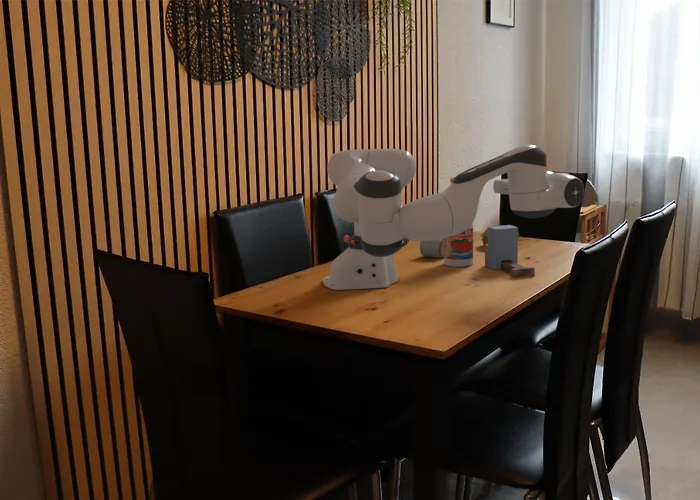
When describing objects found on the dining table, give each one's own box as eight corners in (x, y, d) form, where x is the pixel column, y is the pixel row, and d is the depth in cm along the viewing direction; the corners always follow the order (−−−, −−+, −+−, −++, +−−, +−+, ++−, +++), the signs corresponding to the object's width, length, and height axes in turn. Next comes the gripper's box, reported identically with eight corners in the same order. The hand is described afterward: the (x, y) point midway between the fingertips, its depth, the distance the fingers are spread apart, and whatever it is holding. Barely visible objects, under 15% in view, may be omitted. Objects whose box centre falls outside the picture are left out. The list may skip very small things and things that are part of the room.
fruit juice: (461, 259, 234) (461, 175, 229) (479, 264, 226) (479, 177, 220) (438, 263, 230) (437, 178, 224) (455, 268, 222) (454, 180, 216)
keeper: (495, 270, 217) (495, 229, 214) (487, 266, 222) (488, 226, 219) (517, 267, 219) (517, 227, 216) (509, 264, 224) (509, 225, 221)
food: (478, 251, 248) (478, 228, 246) (482, 243, 261) (482, 222, 260) (518, 252, 244) (518, 229, 242) (520, 244, 257) (520, 222, 256)
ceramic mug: (440, 260, 235) (440, 237, 233) (419, 258, 239) (419, 235, 238) (454, 255, 243) (455, 233, 242) (433, 252, 248) (433, 231, 246)
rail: (513, 278, 207) (513, 254, 206) (484, 265, 224) (485, 244, 223) (534, 275, 209) (534, 252, 207) (504, 263, 226) (504, 242, 225)
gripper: (507, 201, 188) (483, 195, 201) (573, 196, 194) (546, 191, 207) (507, 177, 187) (483, 173, 200) (574, 173, 193) (546, 169, 206)
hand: (515, 182), depth 204 cm, fingers closed
